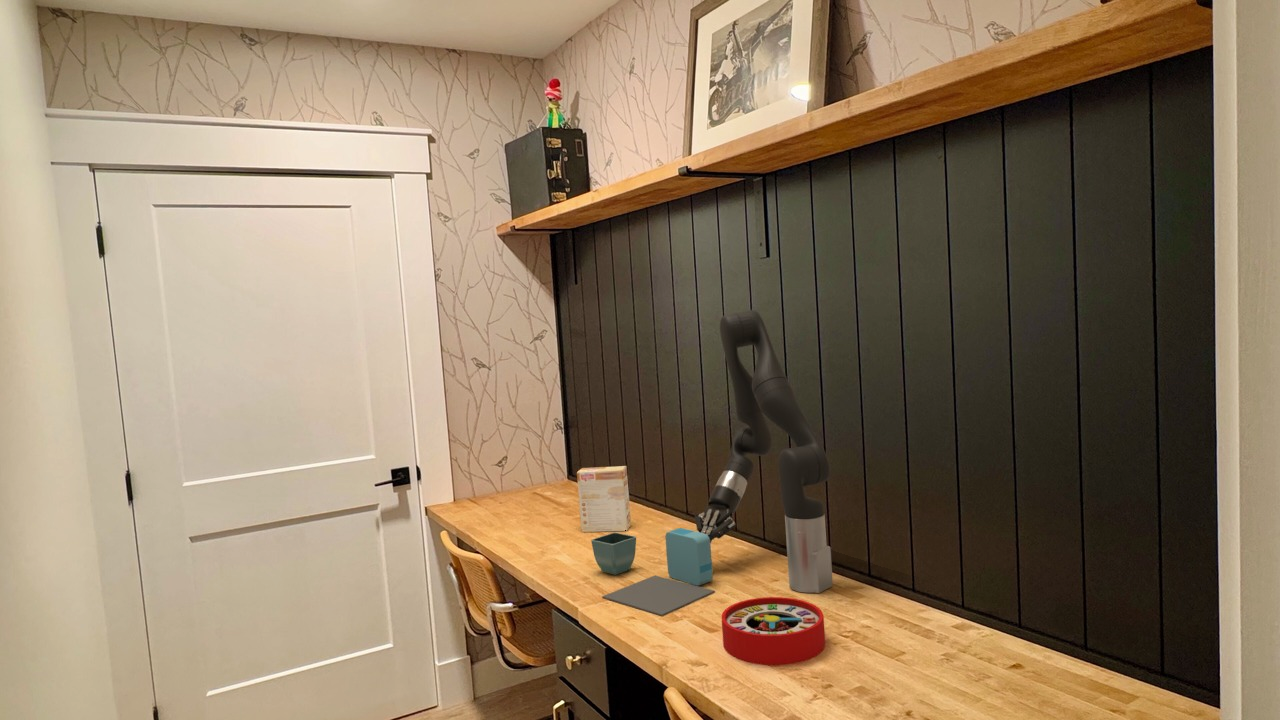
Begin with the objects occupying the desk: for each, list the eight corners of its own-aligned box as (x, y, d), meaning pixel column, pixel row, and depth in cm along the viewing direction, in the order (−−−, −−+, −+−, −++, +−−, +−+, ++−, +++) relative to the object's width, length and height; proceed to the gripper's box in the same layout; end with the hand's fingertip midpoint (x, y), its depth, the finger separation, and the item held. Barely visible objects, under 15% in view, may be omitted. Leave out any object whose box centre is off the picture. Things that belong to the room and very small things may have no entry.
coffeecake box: (631, 525, 253) (627, 465, 252) (627, 531, 246) (622, 469, 245) (586, 526, 256) (581, 467, 255) (581, 532, 249) (576, 471, 248)
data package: (713, 582, 194) (710, 534, 193) (700, 587, 191) (696, 538, 191) (681, 572, 203) (677, 526, 203) (667, 577, 200) (664, 530, 200)
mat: (714, 592, 187) (714, 590, 187) (662, 616, 174) (662, 614, 174) (655, 576, 201) (654, 575, 201) (602, 598, 189) (602, 596, 189)
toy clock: (724, 597, 168) (820, 596, 164) (726, 624, 168) (822, 623, 164) (717, 636, 148) (826, 635, 145) (719, 666, 148) (828, 666, 145)
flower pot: (617, 564, 214) (614, 531, 214) (639, 569, 208) (637, 536, 208) (592, 573, 208) (590, 539, 208) (615, 579, 202) (612, 544, 201)
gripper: (702, 481, 211) (674, 538, 203) (741, 486, 201) (713, 546, 193) (716, 497, 215) (689, 553, 207) (755, 502, 205) (728, 561, 197)
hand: (700, 549), depth 200 cm, fingers closed
